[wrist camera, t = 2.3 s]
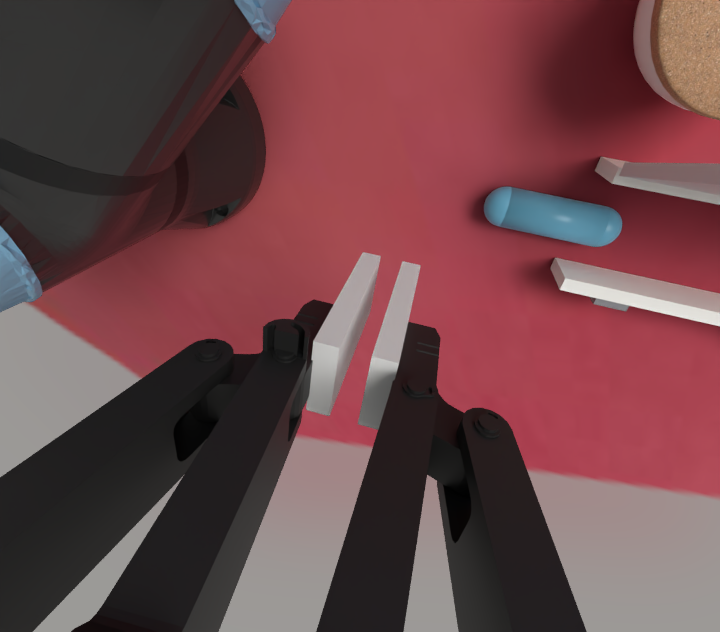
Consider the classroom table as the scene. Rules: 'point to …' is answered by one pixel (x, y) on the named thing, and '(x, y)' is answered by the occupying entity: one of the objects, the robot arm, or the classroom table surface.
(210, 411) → the robot arm
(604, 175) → the white latched case
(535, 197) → the blue pill shape
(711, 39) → the lidded jar
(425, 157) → the classroom table surface
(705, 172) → the cover
